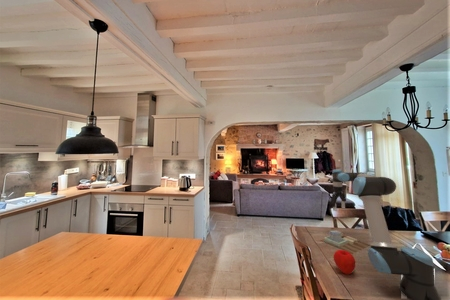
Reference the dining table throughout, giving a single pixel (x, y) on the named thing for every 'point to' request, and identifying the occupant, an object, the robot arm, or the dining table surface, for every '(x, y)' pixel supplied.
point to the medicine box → (335, 236)
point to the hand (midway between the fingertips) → (339, 209)
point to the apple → (344, 261)
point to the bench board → (351, 246)
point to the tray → (327, 239)
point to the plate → (351, 240)
